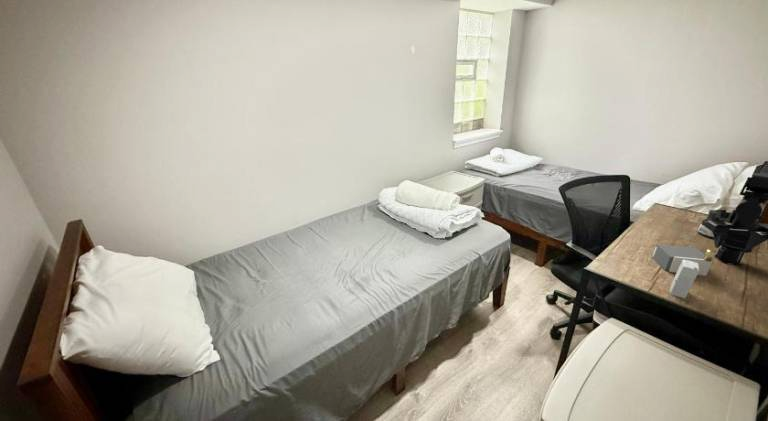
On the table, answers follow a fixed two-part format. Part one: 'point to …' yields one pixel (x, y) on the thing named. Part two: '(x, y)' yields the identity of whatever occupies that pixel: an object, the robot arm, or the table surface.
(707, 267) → the side door
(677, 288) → the skincare box
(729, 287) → the table surface
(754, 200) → the robot arm
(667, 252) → the case
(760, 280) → the table surface
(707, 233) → the ink bottle
